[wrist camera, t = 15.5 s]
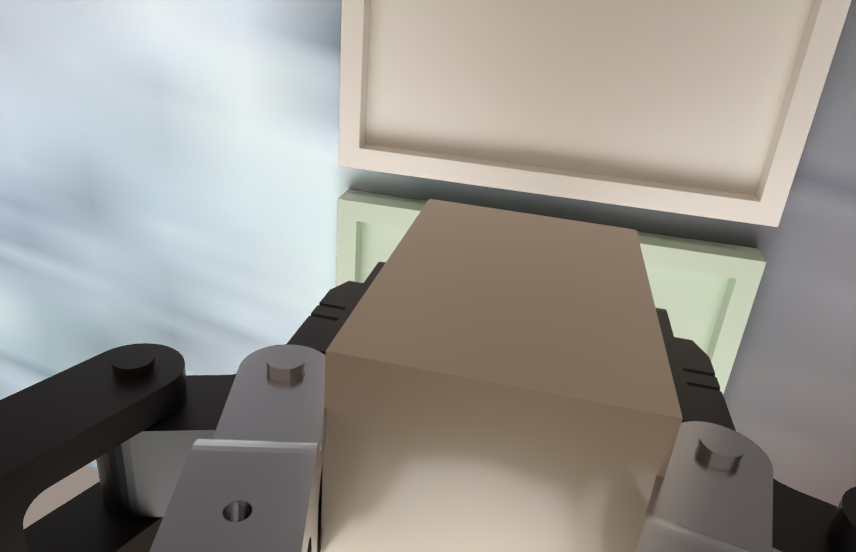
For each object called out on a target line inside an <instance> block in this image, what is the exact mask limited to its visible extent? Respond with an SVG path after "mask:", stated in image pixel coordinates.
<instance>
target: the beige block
mask: <svg viewBox="0 0 856 552" xmlns="http://www.w3.org/2000/svg"><path fill="white" fill-rule="evenodd" d="M324 408H327V416H326V441H325V449H324V456H323V472H322V510H321V528H323V552H635V550H636V546H637V542H638V539H639V535H640V531H641V527H642V523H643V520H644V516H645V512H646V508H647V505H648V501H649V498H650V495H651V491H652V488H653V485H654V482H655V478H656V475H657V476H662V477H665V474H666V471H667V467H668V464H669V461H670V458H671V454H672V451H673V448H674V445H675V442H676V438H677V435H678V432H679V429H680V425H681V422H682V419H683V418H682V414H681V410H680V406H679V401H678V397H677V393H676V389H675V385H674V381H673V377H672V373H671V369H670V365H669V361H668V357H667V353H666V349H665V344H664V340H663V336H662V332H661V328H660V324H659V320H658V316H657V312H656V308H655V304H654V300H653V296H652V292H651V287H650V283H649V279H648V275H647V271H646V267H645V263H644V259H643V255H642V251H641V247H640V243H639V239H638V235H637V230H635V229H628V228H621V227H615V226H608V225H601V224H595V223H588V222H581V221H575V220H568V219H561V218H555V217H548V216H541V215H535V214H528V213H521V212H515V211H508V210H501V209H495V208H488V207H481V206H475V205H468V204H461V203H455V202H448V201H441V200H435V199H429V200H428V201H427V203H426V204H425V206H424V207H423V208H422V210H421V211H420V213H419V214H418V216H417V217H416V219H415V220H414V222H413V223H412V225H411V226H410V228H409V229H408V231H407V232H406V233H405V235H404V236H403V238H402V239H401V241H400V242H399V244H398V245H397V247H396V248H395V250H394V251H393V253H392V254H391V256H390V257H389V258H388V260H387V261H386V263H385V264H384V266H383V267H382V269H381V270H380V272H379V273H378V275H377V276H376V278H375V279H374V281H373V282H372V283H371V285H370V286H369V288H368V289H367V291H366V292H365V294H364V295H363V297H362V298H361V300H360V301H359V303H358V304H357V306H356V307H355V309H354V310H353V311H352V313H351V314H350V316H349V317H348V319H347V320H346V322H345V323H344V325H343V326H342V328H341V329H340V331H339V332H338V334H337V335H336V336H335V338H334V339H333V341H332V342H331V344H330V345H329V347H328V348H327V350H326V358H325V396H324Z"/></svg>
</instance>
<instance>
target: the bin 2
mask: <svg viewBox="0 0 856 552" xmlns="http://www.w3.org/2000/svg"><path fill="white" fill-rule="evenodd" d="M426 203H427V201H425V200H418V199H412V198H405V197H398V196H391V195H384V194H377V193H370V192H363V191H356V190H349V189H348V190H347V191H346V192H345V193H344V194H343V195H342V196H341V197H339V198H338V210H337V257H336V287H337V286H339V285H341V284H343V283H345V282H347V281H354V282H360V283H364V282H365V280H366V279H367V277H368V276H369V275H370V273H371V272H372V270H373V269H374V268H375V266H376V265H377V263H378V262H386V261H387V260H388V258H389V257H390V256H391V254H392V253H393V251H394V250H395V248H396V247H397V245H398V244H399V242H400V241H401V239H402V238H403V236H404V235H405V233H406V232H407V231H408V229H409V228H410V226H411V225H412V223H413V222H414V220H415V219H416V217H417V216H418V214H419V213H420V211H421V210H422V208H423V207H424V206H425V204H426ZM637 235H638V239H639V243H640V247H641V251H642V255H643V259H644V263H645V267H646V271H647V275H648V279H649V283H650V287H651V292H652V296H653V300H654V304H655V308H661V309H666V310H667V313H668V317H669V320H670V324H671V328H672V331H673V335H674V337H677V338H683V339H689V340H693V341H694V342H695V343H696V344H697V345H698V346H699V347H700V348H701V349H702V350H703V351H704V352H705V353H706V354H707V355H708V356H709V357H710V360H711V363H712V366H713V369H714V371H715V377H717V380H718V383H719V385H720V391H721V392H722V394H724V391H725V388H726V385H727V382H728V379H729V376H730V373H731V369H732V366H733V363H734V360H735V357H736V354H737V351H738V348H739V345H740V342H741V339H742V336H743V333H744V330H745V326H746V323H747V320H748V317H749V314H750V311H751V308H752V305H753V302H754V299H755V296H756V293H757V290H758V287H759V283H760V280H761V277H762V274H763V271H764V268H765V265H766V261H765V259H764V258H763V256H762V255H761V253H760V251H759V250H758V248H751V247H744V246H737V245H730V244H723V243H716V242H709V241H702V240H695V239H688V238H681V237H675V236H668V235H661V234H654V233H647V232H640V231H637Z"/></svg>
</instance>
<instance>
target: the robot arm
mask: <svg viewBox="0 0 856 552" xmlns="http://www.w3.org/2000/svg"><path fill="white" fill-rule="evenodd" d="M385 263H386V262H378V263H377V265H376V266H375V268H374V269H373V270H372V272H371V273H370V275H369V276H368V277H367V279H366V280H365V282H364V283H360V282H354V281H347V282H345V283H343V284H341V285H339V286H337V287H335V288H333V289H331V290H329V292H328V293H327V294H326V295H325V297H324V298H323V299H322V300H321V302H320V304H319V305H317V307H316V308H315V309H314V311H313V312H312V313H311V316H309V317H308V318H307V319H306V321H305V322H304V323H303V324H302V326H301V327H300V328H299V329H298V331H297V332H296V333H295V334H294V336H293V337H292V338H291V339H290V341H289V342H288V343H287V344H286V345H275V346H269V347H266V348H262V349H260V350H257V351H255V352H253V353H251V354H250V355H248V356H247V357H246V358H245V359H244V360H243V361H242V362H241V364H240V366H239V369H238V371H237V374H233V375H194V376H186V372H185V362H184V358H183V357H182V355H181V354H180V353H179V352H178V351H176V350H174V349H173V348H170V347H168V346H164V345H159V344H146V343H144V344H132V345H126V346H121V347H117V348H114V349H111V350H108V351H106V352H104V353H101V354H99V355H97V356H95V357H93V358H91V359H88V360H86V361H84V362H82V363H80V364H78V365H75V366H73V367H71V368H69V369H67V370H65V371H62V372H60V373H58V374H56V375H54V376H52V377H49V378H47V379H45V380H43V381H41V382H39V383H36V384H34V385H32V386H30V387H28V388H26V389H24V390H21V391H19V392H17V393H15V394H13V395H11V396H8V397H6V398H4V399H2V400H0V552H323V528H321V510H322V472H323V456H324V449H325V441H326V416H327V408H324V396H325V358H326V350H327V348H328V347H329V345H330V344H331V342H332V341H333V339H334V338H335V336H336V335H337V334H338V332H339V331H340V329H341V328H342V326H343V325H344V323H345V322H346V320H347V319H348V317H349V316H350V314H351V313H352V311H353V310H354V309H355V307H356V306H357V304H358V303H359V301H360V300H361V298H362V297H363V295H364V294H365V292H366V291H367V289H368V288H369V286H370V285H371V283H372V282H373V281H374V279H375V278H376V276H377V275H378V273H379V272H380V270H381V269H382V267H383V266H384V264H385ZM656 312H657V316H658V320H659V324H660V328H661V332H662V336H663V340H664V344H665V349H666V353H667V357H668V361H669V365H670V369H671V373H672V377H673V381H674V385H675V389H676V393H677V397H678V401H679V406H680V410H681V414H682V418H683V419H682V422H681V425H680V429H679V432H678V435H677V438H676V442H675V445H674V448H673V451H672V454H671V458H670V461H669V464H668V467H667V471H666V474H665V477H662V476H657V475H656V478H655V482H654V485H653V488H652V491H651V495H650V498H649V501H648V505H647V508H646V512H645V516H644V520H643V523H642V527H641V531H640V535H639V539H638V542H637V546H636V550H635V552H856V487H854V488H851V489H849V490H848V491H846V492H845V494H844V495H843V497H842V499H841V501H840V503H839V505H838V507H837V506H834V505H832V504H829V503H827V502H824V501H822V500H819V499H817V498H814V497H812V496H809V495H806V494H804V493H801V492H799V491H797V490H794V489H792V488H790V487H788V486H786V485H784V484H782V483H780V482H778V481H777V480H775V479H773V466H772V463H771V461H770V459H769V458H768V456H767V455H766V453H765V452H764V451H763V450H762V449H761V448H760V447H759V446H758V445H757V444H755V443H754V442H753V441H751V440H750V439H748V438H747V437H745V436H743V435H742V434H740V433H738V432H736V430H735V427H734V425H733V422H732V419H731V416H730V413H729V411H728V408H727V405H726V402H725V399H724V397H723V394H722V392H721V391H720V385H719V383H718V380H717V377H715V371H714V369H713V366H712V363H711V360H710V357H709V356H708V355H707V354H706V353H705V352H704V351H703V350H702V349H701V348H700V347H699V346H698V345H697V344H696V343H695V342H694V341H693V340H689V339H683V338H677V337H674V335H673V331H672V328H671V324H670V320H669V317H668V313H667V310H666V309H661V308H656ZM95 459H96V460H97V466H98V472H99V478H100V482H98V483H96V484H95V485H93V486H92V487H90V488H89V489H87V490H85V491H84V492H82V493H81V494H79V495H78V496H76V497H74V498H73V499H71V500H70V501H68V502H67V503H65V504H63V505H62V506H60V507H59V508H57V509H56V510H54V511H52V512H51V513H49V514H47V515H46V516H44V517H43V518H41V519H40V520H38V521H36V522H35V523H33V524H32V525H30V526H29V527H27V528H26V529H24V530H23V519H24V516H25V513H26V511H27V509H28V507H29V506H30V504H31V503H32V502H33V500H34V499H35V498H36V497H37V496H38V495H39V494H40V493H41V492H43V491H44V490H45V489H47V488H48V487H50V486H52V485H53V484H55V483H57V482H59V481H60V480H62V479H63V478H65V477H67V476H69V475H70V474H72V473H74V472H75V471H77V470H78V469H80V468H82V467H84V466H85V465H87V464H89V463H90V462H92V461H94V460H95Z"/></svg>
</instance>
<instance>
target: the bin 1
mask: <svg viewBox="0 0 856 552" xmlns="http://www.w3.org/2000/svg"><path fill="white" fill-rule="evenodd" d="M851 1H852V0H342V20H341V68H340V115H339V162H338V166H342V167H349V168H356V169H363V170H370V171H378V172H385V173H392V174H399V175H406V176H414V177H421V178H428V179H435V180H442V181H450V182H457V183H464V184H471V185H478V186H486V187H493V188H500V189H507V190H514V191H522V192H529V193H536V194H543V195H550V196H558V197H565V198H572V199H579V200H586V201H594V202H601V203H608V204H615V205H622V206H630V207H637V208H644V209H651V210H658V211H666V212H673V213H680V214H687V215H694V216H702V217H709V218H716V219H723V220H730V221H737V222H745V223H752V224H759V225H766V226H773V227H778V225H779V222H780V219H781V216H782V213H783V210H784V207H785V204H786V200H787V197H788V194H789V191H790V188H791V185H792V182H793V179H794V176H795V173H796V170H797V167H798V164H799V161H800V157H801V154H802V151H803V148H804V145H805V142H806V139H807V136H808V133H809V130H810V127H811V124H812V121H813V117H814V114H815V111H816V108H817V105H818V102H819V99H820V96H821V93H822V90H823V87H824V84H825V81H826V78H827V74H828V71H829V68H830V65H831V62H832V59H833V56H834V53H835V50H836V47H837V44H838V41H839V38H840V35H841V31H842V28H843V25H844V22H845V19H846V16H847V13H848V10H849V7H850V4H851Z"/></svg>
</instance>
